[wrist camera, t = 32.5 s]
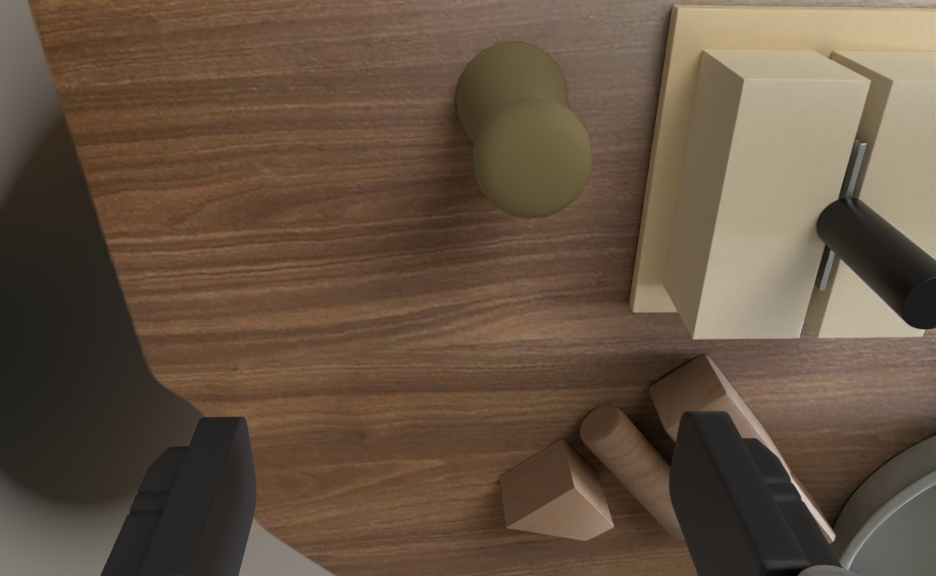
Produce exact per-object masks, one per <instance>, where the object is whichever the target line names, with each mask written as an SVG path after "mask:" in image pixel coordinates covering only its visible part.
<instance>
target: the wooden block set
mask: <svg viewBox="0 0 936 576" xmlns="http://www.w3.org/2000/svg"><path fill="white" fill-rule="evenodd" d="M649 394H650V397H651V399H652V401H653V404H654V406H655V408H656V411H657V413H658V416H659V418H660V420H661V423H662V425H663V427H664V430H665V431H666V432H667V434H668V435H669V436H670V437H671V438H672V439H673V441H674V442H675V443H676V438H677V433H678V428H679V423H680V419H681V416H682V414H683V413H684V412H685V411H726V412H727V413H728V414H729V415H730V417H731V419H732V420H733V422H734V424H735V426H736V428H737V430H738V432H739V433H740V435H741V437H742V438H757V439H758V440H759V441H760V442H761V443H763V444H764V445H765V446H766V447H767V448H768V449H769V450H771V451H772V452H773V453H774V454H775V455H776V456H778V457H779V459H780V461H781V463H782V464H783V466H784V468H785V469H786V471H787V473H788V475H789V476H790V478H791V483H794V485H795V487H796V488H797V490H798V492H799V493H800V495H801V500H802V502H805V504H806V505H807V507H808V509H809V511H810V512H811V514H812V516H813V518H814V519H815V521H816V523H817V524H818V526H819V528H820V530H821V531H822V533H823V535H824V536H825V538H826V540H827V542H828V543H829V544H830V543H832V542H834V540H835V537H836V535H835V533H834V531H833V530H832V528H831V526H830V525H829V523H828V521H827V520H826V518H825V517H824V515H823V513H822V512H821V510H820V508H819V507H818V505H817V503H816V502H815V500H814V499H813V498H812V496H811V495H810V494H809V492H808V491H807V490H806V488H805V487H804V486H803V485H802V483H801V482H800V481H799V479H798V478H797V477H796V475H795V474H794V473H793V472H792V470H791V469H790V468H789V466H788V465H787V464H786V462H785V461H784V460H783V458H782V456H781V455H780V453H779V451H778V450H777V448H776V446H775V445H774V443H773V441H772V440H771V438H770V436H769V435H768V433H767V431H766V430H765V429H764V428H763V426H762V425H761V424H760V422H759V421H758V420H757V418H756V417H755V416H754V414H753V413H752V412H751V411H750V409H749V408H748V407H747V405H746V404H745V403H744V401H743V400H742V399H741V397H740V396H739V395H738V394H737V392H736V391H735V390H734V388H733V387H732V386H731V384H730V383H729V382H728V380H727V379H726V378H725V377H724V375H723V374H722V373H721V371H720V370H719V369H718V367H717V366H716V365H715V363H714V362H713V361H712V360H711V358H710V357H708V356H706V355H705V354H702V355H699V356H697V357H696V358H694V359H692V360H691V361H689V362H688V363H686V364H684V365H683V366H681V367H679V368H678V369H676V370H675V371H673V372H671V373H670V374H668V375H666V376H665V377H663V378H662V379H660V380H658V381H657V382H655V383H653V384H652V385H651V386H650V387H649ZM580 436H581V439H582V441H583V443H584V444H585V445H586V446H587V447H588V448H589V449H590V450H591V451H592V452H593V453H594V454H595V455H596V456H597V457H598V458H599V460H600V461H601V462H602V463H603V464H604V465H605V466H606V467H607V468H608V469H609V470H610V471H611V472H612V473H613V474H614V475H615V476H616V478H617V479H618V480H619V481H620V482H621V483H622V484H623V485H624V486H625V487H626V488H627V489H628V490H629V491H630V492H631V493H632V495H633V496H634V497H635V498H636V499H637V500H638V501H639V502H640V503H641V504H642V505H643V506H644V507H645V508H646V509H647V510H648V511H649V513H650V514H651V515H652V516H653V517H654V518H655V519H656V520H657V521H658V522H659V523H660V524H661V525H662V526H663V527H664V528H665V529H666V531H667V532H668V533H669V534H670V535H671V536H672V537H674V538H675V539H678V540H681V541H685V538H684V536H683V533H682V530H681V528H680V525H679V522H678V520H677V517H676V515H675V512H674V509H673V506H672V503H671V498H670V491H669V474H670V468H671V466H670V465H669V464H668V463H667V462H666V461H665V459H664V458H663V457H662V456H661V455H660V454H659V453H658V451H657V450H656V449H655V448H654V447H653V446H652V445H651V443H650V442H649V441H648V440H647V439H646V438H645V437H644V436H643V434H642V433H641V432H640V431H639V430H638V429H637V428H636V426H635V425H634V424H633V423H632V422H631V421H630V420H629V419H628V417H627V416H626V415H625V414H624V413H623V412H622V411H621V409H620V408H618V407H616V406H614V405H603V406H600V407H598V408H596V409H595V410H593V411H592V412H591V413H589V414H588V415H587V417H586V418H585V419H584V421H583V423H582V425H581V428H580ZM500 484H501V492H502V500H503V508H504V516H505V523H506V528H510V529H516V530H522V531H528V532H534V533H540V534H546V535H552V536H558V537H564V538H571V539H577V540H583V541H587V540H589V539H591V538H593V537H595V536H597V535H599V534H601V533H603V532H605V531H607V530H610V529H612V528H614V525H613V522H612V518H611V515H610V511H609V508H608V505H607V501H606V498H605V494H604V491H603V487H602V484H601V480H600V477H599V476H598V475H597V474H596V473H595V472H594V471H593V470H592V469H591V468H590V466H589V465H588V464H587V463H586V462H585V461H584V460H583V459H582V458H581V457H580V456H579V455H578V454H577V453H576V452H575V451H574V450H573V449H572V448H571V447H570V446H569V445H568V444H567V443H566V441H565V440H564V439H563V438H562V439H561V440H559V441H557V442H556V443H554V444H552V445H551V446H549V447H548V448H546V449H544V450H543V451H541V452H539V453H538V454H536V455H535V456H533V457H531V458H530V459H528V460H526V461H525V462H523V463H522V464H520V465H518V466H517V467H515V468H513V469H512V470H510V471H509V472H507V473H505V474H504V475H502V476H500Z"/></svg>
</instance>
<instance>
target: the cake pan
mask: <svg viewBox="0 0 936 576" xmlns="http://www.w3.org/2000/svg"><path fill="white" fill-rule="evenodd" d="M833 531H834V533H835V535H836V537H835V540H834V542H832V543H830V547H831V548H832V550H833V552H834V554H835V555H836V557H837V559H838V560H839V562H840V564H841V566H842V567H843V568H844V569H847V570H849V571H852V572H854V573H856V574H858V575H860V576H936V435H935V436H933V437H930V438H928V439H925V440H923V441H921V442H920V443H918V444H916V445H914V446H912V447H910V448H908V449H906V450H905V451H903V452H902V453H900V454H898V455H897V456H895V457H894V458H892V459H891V460H890V461H888V462H887V463H885V464H884V465H883V466H882V467H880V468H879V469H878V470H877V471H876V472H874V473H873V474H872V475H871V476H870V477H869V478H868V479H867V480H866V481H865V482H864V483H863V484H862V485H861V486H860V487H859V488H858V489H857V490H856V491H855V493H854V494H853V495H852V496H851V498H850V499H849V500H848V502H847V503H846V505H845V506H844V508H843V510H842V512H841V513H840V515H839V517H838V519H837V521H836V524H835V526H834V529H833Z"/></svg>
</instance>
